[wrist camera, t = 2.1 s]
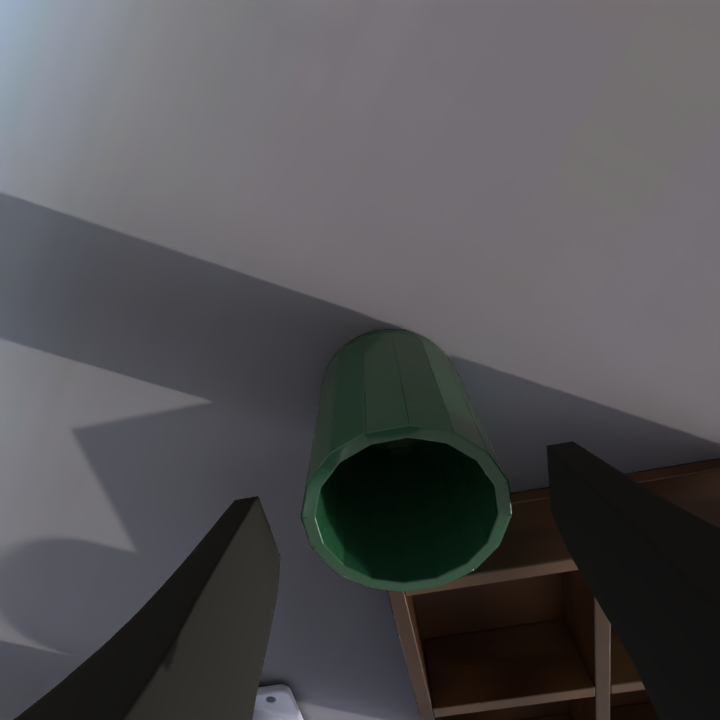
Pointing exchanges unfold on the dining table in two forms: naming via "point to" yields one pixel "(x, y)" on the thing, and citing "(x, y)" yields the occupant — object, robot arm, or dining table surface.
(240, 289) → the dining table surface
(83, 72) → the dining table surface
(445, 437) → the tumbler
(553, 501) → the robot arm
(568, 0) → the dining table surface
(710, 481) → the rack
